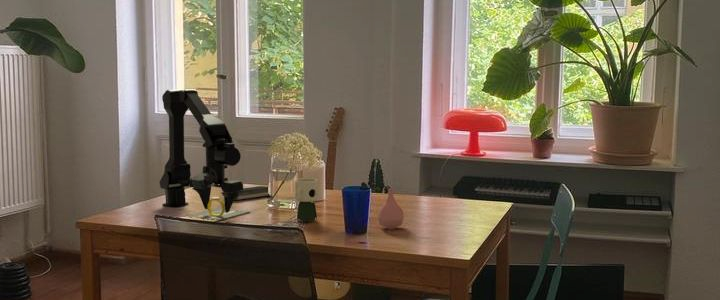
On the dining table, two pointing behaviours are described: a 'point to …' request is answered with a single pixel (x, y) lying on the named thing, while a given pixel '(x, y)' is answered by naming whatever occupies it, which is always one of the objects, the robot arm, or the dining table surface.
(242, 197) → the black sponge
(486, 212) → the dining table surface
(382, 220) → the pink teardrop shape
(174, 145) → the robot arm
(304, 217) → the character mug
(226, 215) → the subfloor panel
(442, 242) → the dining table surface
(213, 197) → the watch
